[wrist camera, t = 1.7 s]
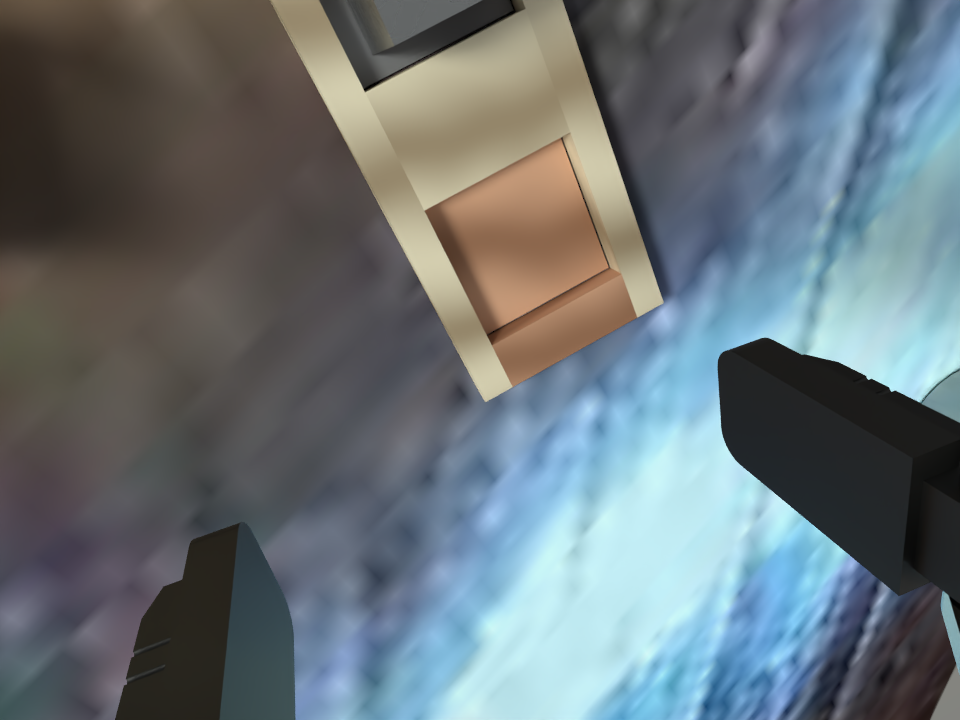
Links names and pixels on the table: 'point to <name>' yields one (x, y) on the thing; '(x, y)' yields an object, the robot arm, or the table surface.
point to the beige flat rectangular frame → (489, 176)
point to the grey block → (400, 18)
